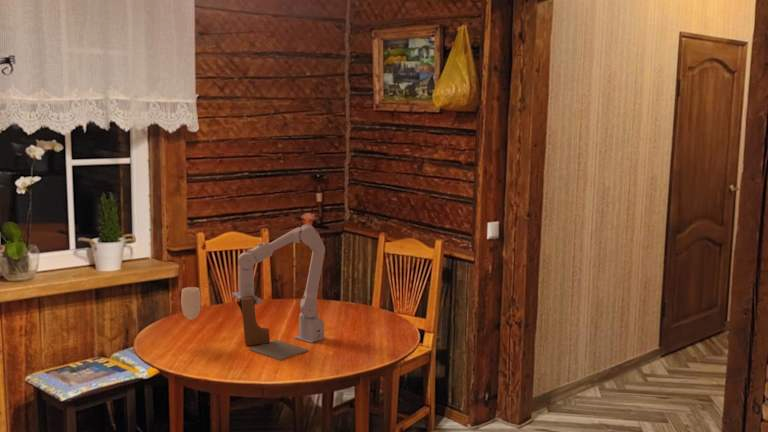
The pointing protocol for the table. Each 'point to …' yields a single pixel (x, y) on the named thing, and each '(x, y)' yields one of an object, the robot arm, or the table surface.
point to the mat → (278, 350)
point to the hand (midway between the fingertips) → (246, 318)
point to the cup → (191, 302)
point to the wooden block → (252, 324)
